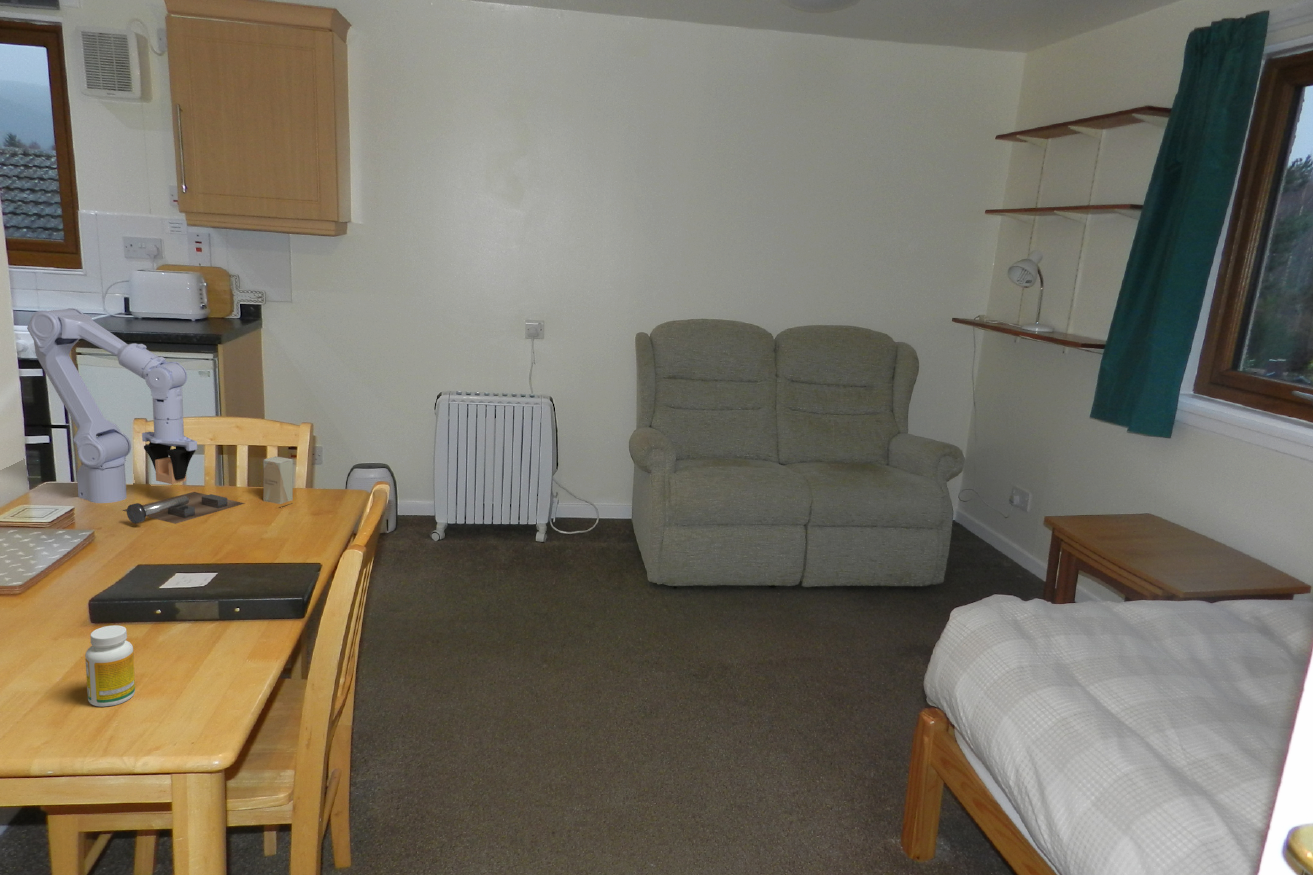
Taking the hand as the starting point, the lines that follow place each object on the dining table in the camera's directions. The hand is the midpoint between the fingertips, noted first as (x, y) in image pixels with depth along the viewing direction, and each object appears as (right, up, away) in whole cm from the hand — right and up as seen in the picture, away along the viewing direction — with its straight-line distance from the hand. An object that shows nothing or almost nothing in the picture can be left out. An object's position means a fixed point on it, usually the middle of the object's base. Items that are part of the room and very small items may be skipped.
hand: (170, 476), depth 188 cm
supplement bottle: (+36, -26, -75) cm, 87 cm away
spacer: (0, -1, 0) cm, 1 cm away
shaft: (+4, -8, -10) cm, 13 cm away
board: (+3, -8, 0) cm, 8 cm away
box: (+20, -7, +10) cm, 23 cm away
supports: (+7, -7, -1) cm, 10 cm away
